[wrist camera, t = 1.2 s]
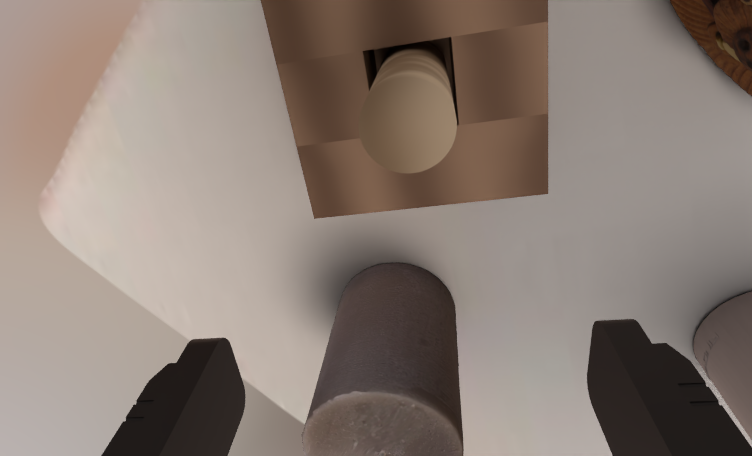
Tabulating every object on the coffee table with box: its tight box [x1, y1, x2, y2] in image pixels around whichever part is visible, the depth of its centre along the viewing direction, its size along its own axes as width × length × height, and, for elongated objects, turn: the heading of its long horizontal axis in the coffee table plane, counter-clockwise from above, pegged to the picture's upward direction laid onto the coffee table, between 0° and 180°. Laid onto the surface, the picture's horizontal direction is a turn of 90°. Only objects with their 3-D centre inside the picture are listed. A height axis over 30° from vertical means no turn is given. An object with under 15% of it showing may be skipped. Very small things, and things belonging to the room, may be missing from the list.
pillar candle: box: [302, 263, 464, 456], centre depth 34 cm, size 10×10×15 cm
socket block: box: [261, 0, 548, 219], centre depth 29 cm, size 14×14×6 cm
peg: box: [358, 41, 457, 174], centre depth 25 cm, size 4×4×12 cm
